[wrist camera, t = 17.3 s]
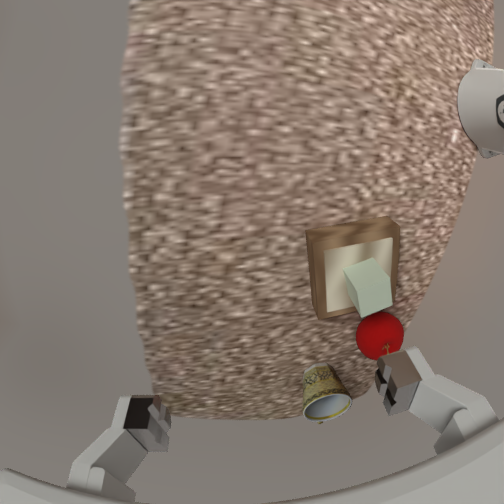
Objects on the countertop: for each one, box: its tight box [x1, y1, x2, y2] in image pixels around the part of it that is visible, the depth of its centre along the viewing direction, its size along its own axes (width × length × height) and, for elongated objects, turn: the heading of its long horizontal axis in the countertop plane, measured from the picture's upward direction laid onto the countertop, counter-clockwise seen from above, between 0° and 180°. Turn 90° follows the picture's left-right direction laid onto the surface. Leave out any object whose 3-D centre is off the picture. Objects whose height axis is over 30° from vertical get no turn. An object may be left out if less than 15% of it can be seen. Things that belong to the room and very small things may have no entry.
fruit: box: [356, 312, 404, 360], centre depth 51 cm, size 9×9×10 cm
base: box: [305, 216, 400, 320], centre depth 46 cm, size 14×14×5 cm
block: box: [343, 258, 392, 318], centre depth 41 cm, size 5×5×6 cm
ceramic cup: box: [303, 363, 352, 424], centre depth 57 cm, size 13×10×10 cm
